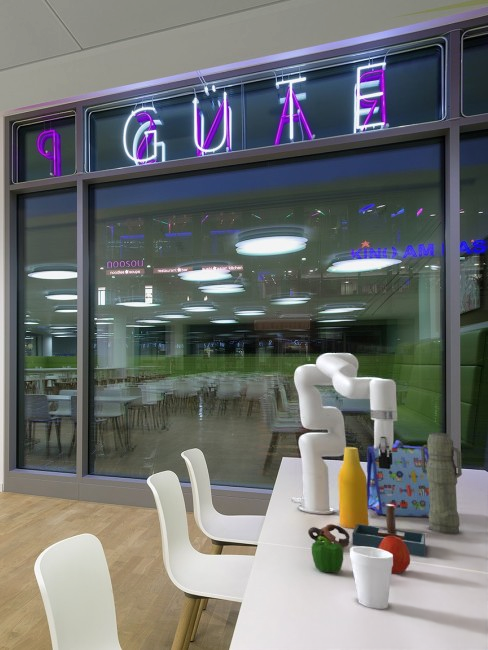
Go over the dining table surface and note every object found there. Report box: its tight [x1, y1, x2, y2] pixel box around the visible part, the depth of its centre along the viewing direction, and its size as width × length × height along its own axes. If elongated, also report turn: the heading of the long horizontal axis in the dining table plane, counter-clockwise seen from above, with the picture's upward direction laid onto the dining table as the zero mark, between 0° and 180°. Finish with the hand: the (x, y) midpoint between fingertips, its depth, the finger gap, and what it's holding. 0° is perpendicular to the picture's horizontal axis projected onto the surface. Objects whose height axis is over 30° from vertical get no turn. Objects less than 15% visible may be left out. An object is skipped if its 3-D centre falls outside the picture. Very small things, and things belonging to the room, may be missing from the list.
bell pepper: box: [311, 536, 344, 574], centre depth 179 cm, size 8×8×10 cm
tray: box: [352, 524, 427, 558], centre depth 202 cm, size 20×14×4 cm
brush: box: [378, 504, 405, 540], centre depth 201 cm, size 7×5×12 cm
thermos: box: [421, 432, 463, 535], centre depth 220 cm, size 9×12×35 cm
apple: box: [378, 535, 411, 574], centre depth 178 cm, size 8×8×11 cm
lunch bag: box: [366, 439, 430, 518], centre depth 244 cm, size 22×14×29 cm, turn 80°
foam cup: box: [349, 546, 393, 610], centre depth 155 cm, size 10×9×13 cm
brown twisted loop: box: [307, 523, 350, 549], centre depth 200 cm, size 12×10×8 cm
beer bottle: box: [337, 446, 370, 530], centre depth 225 cm, size 9×9×29 cm
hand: (385, 466), depth 203 cm, fingers open, 9 cm apart
